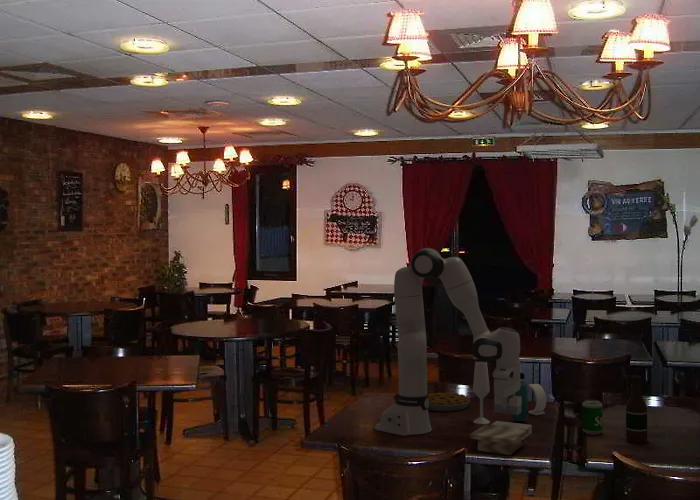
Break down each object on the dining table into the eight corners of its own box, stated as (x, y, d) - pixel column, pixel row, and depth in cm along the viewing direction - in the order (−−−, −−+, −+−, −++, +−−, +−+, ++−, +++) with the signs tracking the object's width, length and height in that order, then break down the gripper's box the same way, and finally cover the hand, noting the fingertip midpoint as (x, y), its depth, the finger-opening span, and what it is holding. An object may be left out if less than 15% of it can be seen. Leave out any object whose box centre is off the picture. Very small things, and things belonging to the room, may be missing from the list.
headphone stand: (537, 411, 335) (537, 383, 335) (546, 414, 330) (546, 386, 329) (528, 412, 333) (528, 384, 333) (537, 416, 328) (537, 387, 327)
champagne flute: (470, 422, 318) (470, 363, 317) (476, 419, 324) (475, 361, 323) (487, 424, 315) (486, 364, 314) (492, 420, 321) (491, 362, 320)
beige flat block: (486, 435, 299) (485, 428, 298) (496, 428, 309) (496, 420, 309) (522, 440, 292) (521, 432, 291) (531, 432, 302) (531, 425, 302)
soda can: (589, 436, 296) (589, 404, 296) (578, 431, 303) (578, 400, 303) (606, 434, 298) (606, 403, 298) (595, 429, 305) (595, 398, 305)
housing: (494, 411, 300) (494, 396, 300) (498, 409, 304) (498, 393, 304) (517, 414, 296) (517, 398, 295) (521, 411, 300) (521, 396, 300)
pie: (410, 404, 352) (410, 393, 352) (452, 399, 362) (452, 388, 362) (436, 415, 333) (436, 403, 332) (479, 409, 342) (479, 397, 342)
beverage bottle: (528, 424, 314) (528, 374, 313) (511, 424, 315) (511, 374, 314) (528, 420, 320) (527, 371, 319) (511, 420, 322) (511, 371, 321)
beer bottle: (629, 436, 295) (629, 372, 294) (650, 440, 290) (650, 375, 289) (622, 441, 289) (622, 376, 288) (643, 444, 284) (643, 378, 283)
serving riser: (470, 451, 279) (470, 434, 279) (486, 439, 293) (486, 423, 293) (514, 457, 271) (513, 439, 271) (528, 445, 285) (528, 429, 285)
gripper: (509, 365, 310) (508, 400, 311) (490, 373, 292) (490, 410, 293) (524, 366, 307) (524, 401, 307) (507, 375, 289) (507, 412, 290)
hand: (507, 406), depth 300 cm, fingers closed on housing, 5 cm apart
